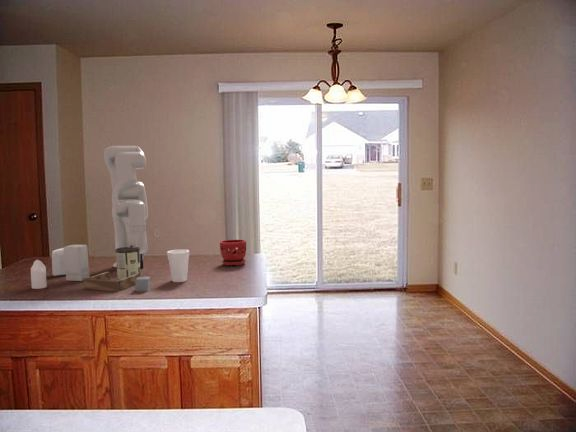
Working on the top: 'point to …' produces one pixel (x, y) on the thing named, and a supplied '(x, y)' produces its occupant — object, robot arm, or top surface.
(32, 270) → the white tall rounded piece
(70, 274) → the skincare box
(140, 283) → the grey block
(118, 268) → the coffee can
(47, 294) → the top surface
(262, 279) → the top surface
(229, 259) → the plant pot
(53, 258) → the photo printer
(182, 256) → the foam cup
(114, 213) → the robot arm
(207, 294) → the top surface
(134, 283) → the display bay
